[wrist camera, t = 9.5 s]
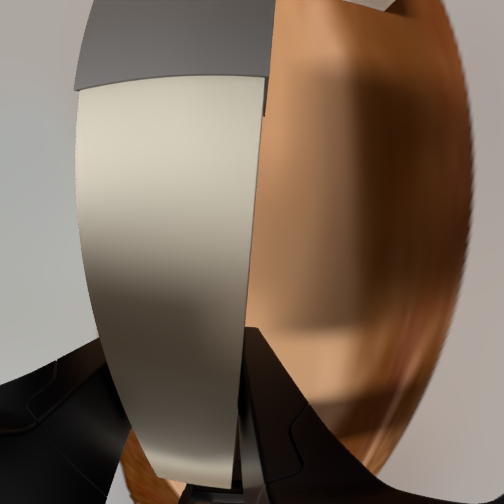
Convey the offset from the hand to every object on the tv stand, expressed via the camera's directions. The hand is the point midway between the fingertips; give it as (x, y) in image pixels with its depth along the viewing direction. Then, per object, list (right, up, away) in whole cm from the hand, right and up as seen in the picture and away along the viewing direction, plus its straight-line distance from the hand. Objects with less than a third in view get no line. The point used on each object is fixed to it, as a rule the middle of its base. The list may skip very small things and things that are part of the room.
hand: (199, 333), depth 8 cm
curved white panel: (0, +2, 0) cm, 2 cm away
